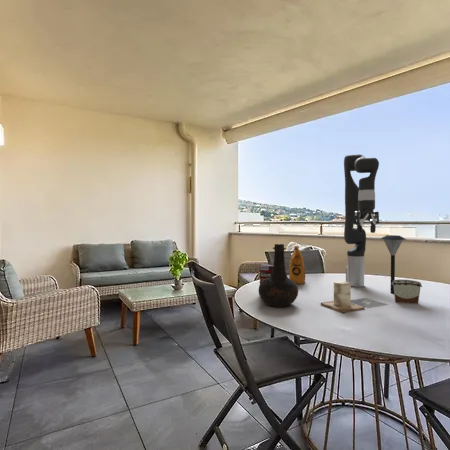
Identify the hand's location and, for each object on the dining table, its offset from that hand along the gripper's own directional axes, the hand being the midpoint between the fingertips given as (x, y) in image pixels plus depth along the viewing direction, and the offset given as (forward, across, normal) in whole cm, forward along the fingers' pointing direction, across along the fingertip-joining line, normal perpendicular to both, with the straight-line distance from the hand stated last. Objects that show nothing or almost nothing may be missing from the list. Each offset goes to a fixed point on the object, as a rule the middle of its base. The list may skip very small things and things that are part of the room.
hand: (366, 233), depth 157 cm
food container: (+32, -12, +12) cm, 36 cm away
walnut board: (+32, +21, +6) cm, 39 cm away
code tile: (+32, +6, +6) cm, 33 cm away
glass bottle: (+32, +44, -10) cm, 55 cm away
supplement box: (+32, +40, -25) cm, 57 cm away
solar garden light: (+32, -21, -2) cm, 39 cm away
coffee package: (+32, +7, -46) cm, 57 cm away
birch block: (+31, +21, +6) cm, 38 cm away
